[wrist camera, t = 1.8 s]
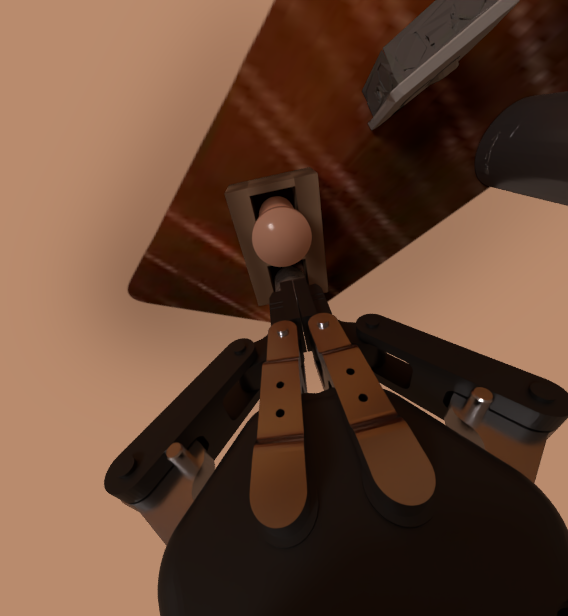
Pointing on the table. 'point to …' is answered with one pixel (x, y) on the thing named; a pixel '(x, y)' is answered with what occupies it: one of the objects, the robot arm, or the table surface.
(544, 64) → the table surface
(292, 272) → the grey plug
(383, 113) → the electrical switch
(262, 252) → the terracotta plug
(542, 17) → the table surface
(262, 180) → the socket board
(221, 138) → the table surface
